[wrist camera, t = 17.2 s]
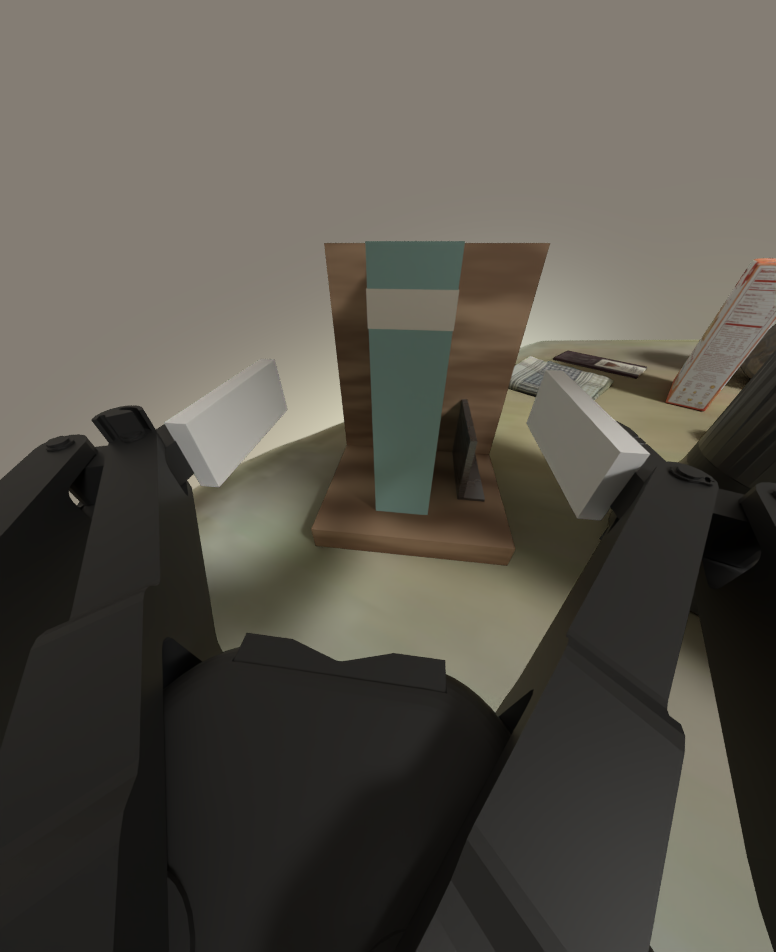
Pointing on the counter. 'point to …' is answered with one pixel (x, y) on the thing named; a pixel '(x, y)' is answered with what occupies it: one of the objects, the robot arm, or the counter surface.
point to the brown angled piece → (468, 377)
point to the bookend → (466, 458)
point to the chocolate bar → (601, 364)
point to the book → (409, 362)
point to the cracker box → (728, 337)
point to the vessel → (760, 353)
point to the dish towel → (533, 370)
